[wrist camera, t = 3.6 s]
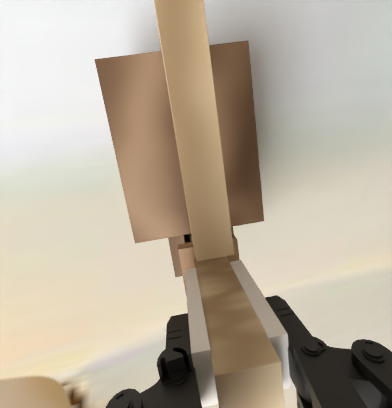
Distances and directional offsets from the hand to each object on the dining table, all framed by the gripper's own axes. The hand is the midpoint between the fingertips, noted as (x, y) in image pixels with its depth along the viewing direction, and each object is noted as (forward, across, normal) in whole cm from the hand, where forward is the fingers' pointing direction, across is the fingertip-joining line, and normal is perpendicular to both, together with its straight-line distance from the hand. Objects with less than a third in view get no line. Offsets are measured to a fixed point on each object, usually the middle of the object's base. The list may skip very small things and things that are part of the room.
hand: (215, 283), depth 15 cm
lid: (+7, 0, +7) cm, 10 cm away
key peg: (+9, 0, 0) cm, 9 cm away
